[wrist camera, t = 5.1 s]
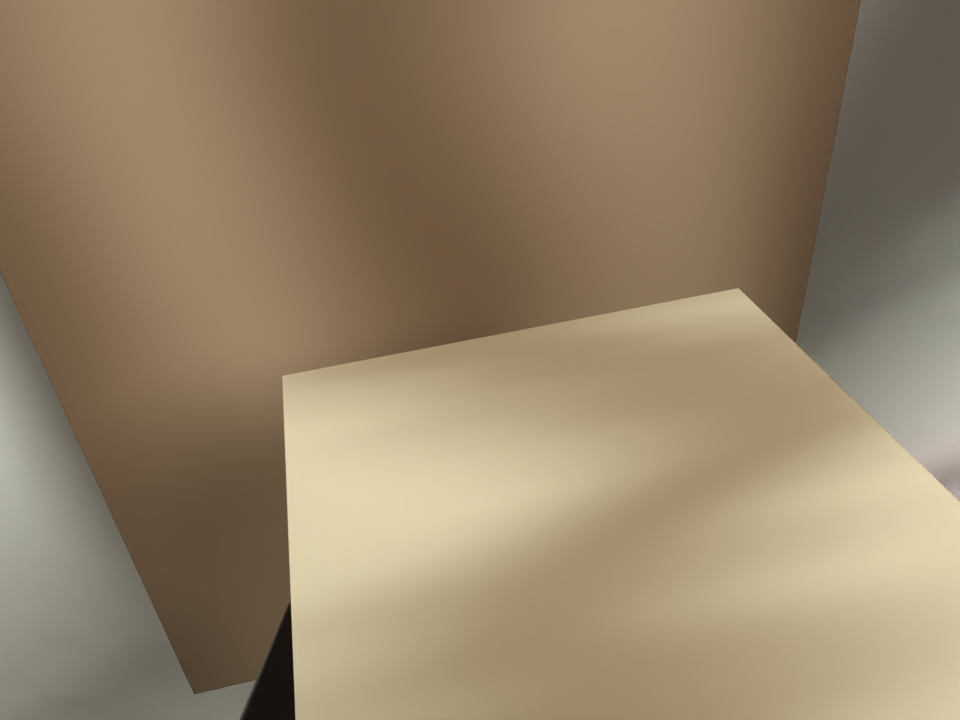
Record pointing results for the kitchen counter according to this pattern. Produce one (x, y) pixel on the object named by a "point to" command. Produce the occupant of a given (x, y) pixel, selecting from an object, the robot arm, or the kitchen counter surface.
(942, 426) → the kitchen counter surface
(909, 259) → the kitchen counter surface
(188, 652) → the walnut block
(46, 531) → the kitchen counter surface
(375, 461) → the beech cube
